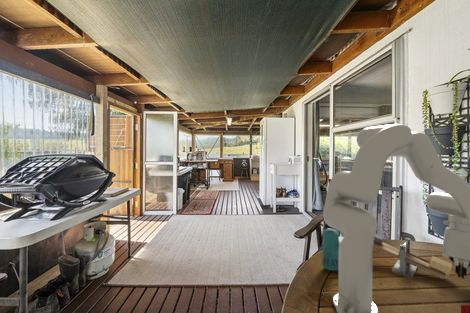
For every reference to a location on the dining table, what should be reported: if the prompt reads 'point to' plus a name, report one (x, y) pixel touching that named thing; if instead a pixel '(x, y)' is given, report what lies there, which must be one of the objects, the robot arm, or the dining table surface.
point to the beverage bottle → (330, 249)
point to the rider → (440, 265)
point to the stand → (404, 262)
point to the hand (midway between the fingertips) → (460, 276)
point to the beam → (410, 257)
